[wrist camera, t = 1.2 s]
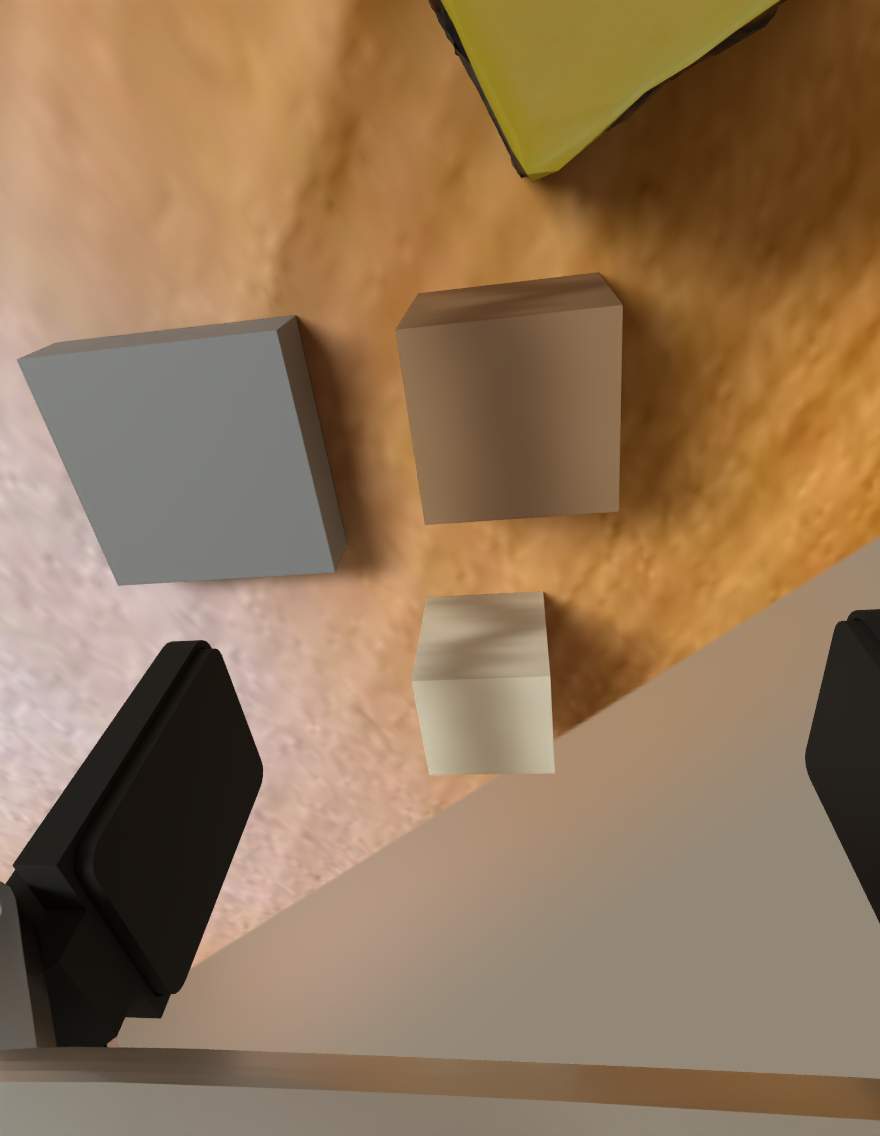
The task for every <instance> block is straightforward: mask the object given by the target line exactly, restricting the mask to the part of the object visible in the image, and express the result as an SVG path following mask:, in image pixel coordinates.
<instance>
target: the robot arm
mask: <svg viewBox="0 0 880 1136" xmlns="http://www.w3.org/2000/svg"><path fill="white" fill-rule="evenodd" d="M805 761H806V768H807V771H808V775H809V777H810V780H811V782H812V784H813V786H814V788H815V790H816V792H817V794H818V796H819V798H820V801H821V803H822V805H823V807H824V809H825V811H826V813H827V815H828V817H829V819H830V821H831V823H832V825H833V827H834V829H835V832H836V834H837V836H838V838H839V840H840V842H841V844H842V846H843V848H844V850H845V852H846V854H847V856H848V859H849V861H850V863H851V865H852V867H853V869H854V871H855V873H856V875H857V877H858V879H859V881H860V883H861V885H862V887H863V890H864V892H865V894H866V895H867V898H868V900H869V902H870V904H871V906H872V908H873V910H874V912H875V914H876V916H877V919H878V921H879V923H880V609H875V610H856V611H853V612H852V613H851V614H850V615H849V617H848V619H847V621H841V622H838V623H837V625H836V626H835V629H834V633H833V637H832V642H831V646H830V650H829V654H828V659H827V663H826V667H825V671H824V676H823V680H822V684H821V689H820V693H819V697H818V701H817V706H816V710H815V714H814V718H813V722H812V727H811V731H810V735H809V739H808V744H807V748H806V753H805ZM262 778H263V765H262V761H261V758H260V756H259V753H258V750H257V748H256V745H255V742H254V740H253V737H252V734H251V732H250V729H249V726H248V724H247V721H246V718H245V716H244V713H243V710H242V708H241V705H240V702H239V700H238V697H237V694H236V692H235V689H234V686H233V684H232V681H231V678H230V676H229V673H228V670H227V668H226V665H225V662H224V660H223V657H222V655H221V653H220V651H219V650H218V649H212V648H211V646H210V644H209V643H207V642H206V641H203V640H196V641H174V642H169V643H167V644H166V645H165V646H164V647H163V648H162V650H161V651H160V653H159V654H158V656H157V657H156V658H155V660H154V661H153V663H152V664H151V666H150V667H149V669H148V670H147V671H146V673H145V674H144V676H143V677H142V679H141V680H140V682H139V683H138V684H137V686H136V687H135V689H134V690H133V692H132V693H131V695H130V696H129V697H128V699H127V700H126V702H125V703H124V705H123V706H122V708H121V709H120V710H119V712H118V713H117V715H116V716H115V718H114V719H113V721H112V722H111V723H110V725H109V726H108V728H107V729H106V731H105V732H104V734H103V735H102V736H101V738H100V739H99V741H98V742H97V744H96V745H95V747H94V748H93V749H92V751H91V752H90V754H89V755H88V757H87V758H86V760H85V761H84V762H83V764H82V765H81V767H80V768H79V770H78V771H77V773H76V774H75V776H74V777H73V778H72V780H71V781H70V783H69V784H68V786H67V787H66V789H65V790H64V791H63V793H62V794H61V796H60V797H59V799H58V800H57V802H56V803H55V804H54V806H53V807H52V809H51V810H50V812H49V813H48V815H47V816H46V817H45V819H44V820H43V822H42V823H41V825H40V826H39V828H38V829H37V830H36V832H35V833H34V835H33V836H32V838H31V839H30V841H29V842H28V843H27V845H26V846H25V848H24V849H23V851H22V852H21V854H20V855H19V856H18V858H17V859H16V861H15V862H14V864H13V867H14V868H15V871H14V872H13V874H12V875H11V877H10V878H9V880H8V881H7V883H6V884H4V883H3V882H1V881H0V1136H880V1079H872V1078H857V1077H836V1076H816V1075H795V1074H774V1073H753V1072H732V1071H710V1070H690V1069H670V1068H669V1069H668V1068H649V1067H626V1066H605V1065H581V1064H558V1063H536V1062H512V1061H490V1060H465V1059H442V1058H418V1057H417V1058H415V1057H393V1056H370V1055H369V1056H368V1055H343V1054H315V1053H288V1052H262V1051H236V1050H235V1051H234V1050H209V1049H177V1048H119V1046H118V1042H117V1038H116V1037H117V1035H118V1032H119V1030H120V1028H121V1026H122V1023H123V1021H124V1019H125V1017H136V1018H161V1017H162V1015H163V1012H164V1010H165V1007H166V1005H167V1002H168V1000H169V997H170V995H171V994H176V993H177V992H178V991H179V990H180V989H181V988H182V986H183V984H184V982H185V980H186V978H187V975H188V973H189V970H190V967H191V965H192V962H193V960H194V957H195V955H196V952H197V949H198V947H199V944H200V942H201V939H202V936H203V934H204V931H205V929H206V926H207V924H208V921H209V918H210V916H211V913H212V911H213V908H214V905H215V903H216V900H217V898H218V895H219V893H220V890H221V887H222V885H223V882H224V880H225V877H226V874H227V872H228V869H229V867H230V864H231V862H232V859H233V856H234V854H235V851H236V849H237V846H238V843H239V841H240V838H241V836H242V833H243V831H244V828H245V825H246V823H247V820H248V818H249V815H250V812H251V810H252V807H253V805H254V802H255V800H256V797H257V794H258V792H259V789H260V787H261V783H262Z"/></svg>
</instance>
